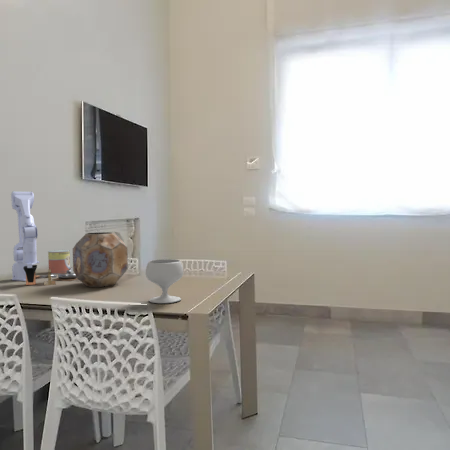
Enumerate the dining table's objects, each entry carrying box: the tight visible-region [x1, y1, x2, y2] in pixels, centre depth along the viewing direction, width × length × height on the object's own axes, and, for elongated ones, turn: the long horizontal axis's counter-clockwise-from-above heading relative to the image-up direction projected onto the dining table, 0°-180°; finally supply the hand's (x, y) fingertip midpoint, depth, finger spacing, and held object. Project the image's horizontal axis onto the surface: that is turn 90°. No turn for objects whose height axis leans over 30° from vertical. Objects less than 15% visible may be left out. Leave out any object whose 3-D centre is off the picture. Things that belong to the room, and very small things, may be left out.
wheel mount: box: [51, 277, 78, 282], centre depth 217 cm, size 11×11×1 cm
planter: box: [72, 231, 129, 288], centre depth 198 cm, size 22×24×24 cm
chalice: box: [145, 258, 184, 304], centre depth 162 cm, size 14×14×15 cm
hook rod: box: [25, 271, 58, 286], centre depth 203 cm, size 13×4×6 cm, turn 112°
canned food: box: [47, 249, 71, 275], centre depth 240 cm, size 11×11×12 cm
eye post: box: [43, 268, 56, 286], centre depth 204 cm, size 5×10×6 cm, turn 22°
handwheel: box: [57, 266, 76, 279], centre depth 217 cm, size 10×10×4 cm
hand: (30, 281), depth 201 cm, fingers closed on hook rod, 4 cm apart
